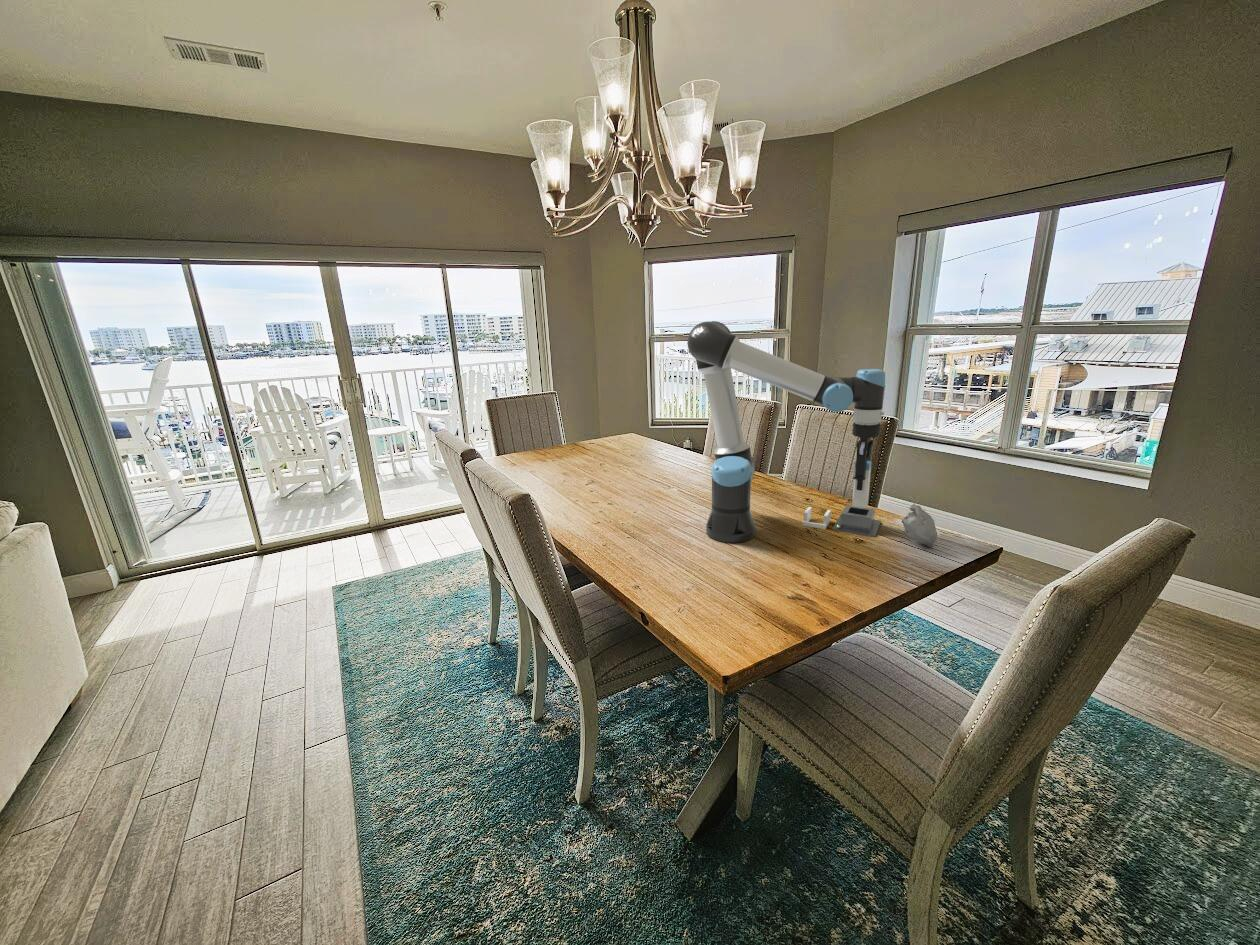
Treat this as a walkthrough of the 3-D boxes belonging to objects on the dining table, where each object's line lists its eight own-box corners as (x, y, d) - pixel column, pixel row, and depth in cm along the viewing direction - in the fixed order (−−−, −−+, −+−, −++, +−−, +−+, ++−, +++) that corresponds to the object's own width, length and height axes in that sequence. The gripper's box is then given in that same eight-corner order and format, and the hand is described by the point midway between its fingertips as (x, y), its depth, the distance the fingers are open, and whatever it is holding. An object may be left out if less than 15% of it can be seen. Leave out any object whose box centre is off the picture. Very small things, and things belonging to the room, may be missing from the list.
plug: (851, 506, 148) (854, 462, 145) (854, 502, 152) (857, 459, 148) (866, 508, 146) (869, 463, 142) (868, 503, 149) (871, 460, 146)
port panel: (832, 529, 149) (833, 515, 148) (840, 516, 160) (841, 501, 158) (875, 537, 143) (876, 521, 141) (880, 522, 153) (882, 507, 152)
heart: (913, 554, 131) (926, 513, 128) (889, 539, 140) (901, 501, 137) (944, 556, 133) (958, 515, 130) (919, 541, 142) (931, 503, 138)
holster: (802, 525, 154) (803, 513, 152) (807, 518, 159) (808, 506, 158) (825, 529, 150) (826, 517, 149) (830, 521, 155) (831, 510, 154)
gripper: (877, 428, 133) (869, 507, 140) (884, 418, 147) (877, 490, 153) (847, 427, 137) (841, 503, 144) (857, 417, 151) (851, 487, 157)
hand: (860, 496), depth 148 cm, fingers closed on plug, 4 cm apart
